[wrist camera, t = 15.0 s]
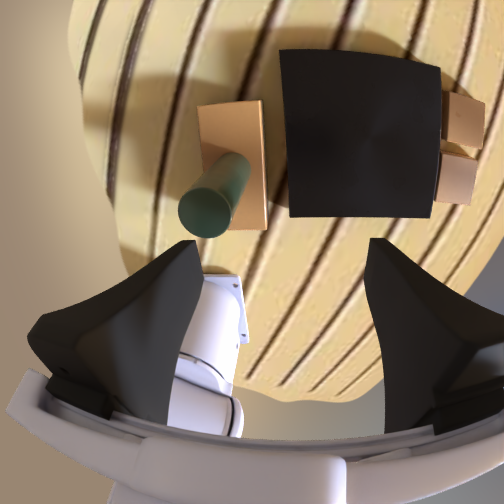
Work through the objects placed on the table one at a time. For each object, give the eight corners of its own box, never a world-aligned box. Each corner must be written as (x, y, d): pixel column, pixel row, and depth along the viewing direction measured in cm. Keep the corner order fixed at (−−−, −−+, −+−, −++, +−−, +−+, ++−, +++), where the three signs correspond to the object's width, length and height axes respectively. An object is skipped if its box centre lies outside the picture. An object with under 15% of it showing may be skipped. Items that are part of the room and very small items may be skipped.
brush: (268, 215, 21) (256, 297, 14) (219, 216, 22) (181, 293, 14) (262, 99, 17) (242, 101, 9) (206, 104, 17) (143, 116, 9)
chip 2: (463, 199, 18) (470, 205, 17) (429, 196, 19) (435, 202, 18) (470, 156, 16) (478, 160, 15) (435, 149, 16) (442, 153, 15)
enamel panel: (422, 211, 19) (430, 218, 18) (289, 209, 21) (289, 217, 20) (431, 68, 13) (440, 67, 12) (279, 53, 15) (278, 49, 13)
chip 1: (474, 146, 15) (482, 149, 14) (439, 138, 16) (446, 141, 15) (477, 101, 13) (485, 103, 12) (441, 90, 14) (449, 90, 13)
